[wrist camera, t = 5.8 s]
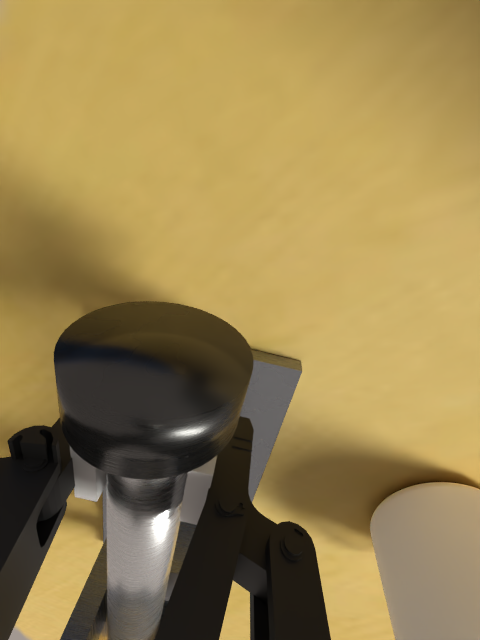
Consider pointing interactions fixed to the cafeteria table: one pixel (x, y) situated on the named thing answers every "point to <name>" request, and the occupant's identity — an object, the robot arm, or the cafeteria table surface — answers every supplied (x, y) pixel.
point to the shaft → (147, 432)
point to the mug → (430, 560)
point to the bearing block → (266, 417)
